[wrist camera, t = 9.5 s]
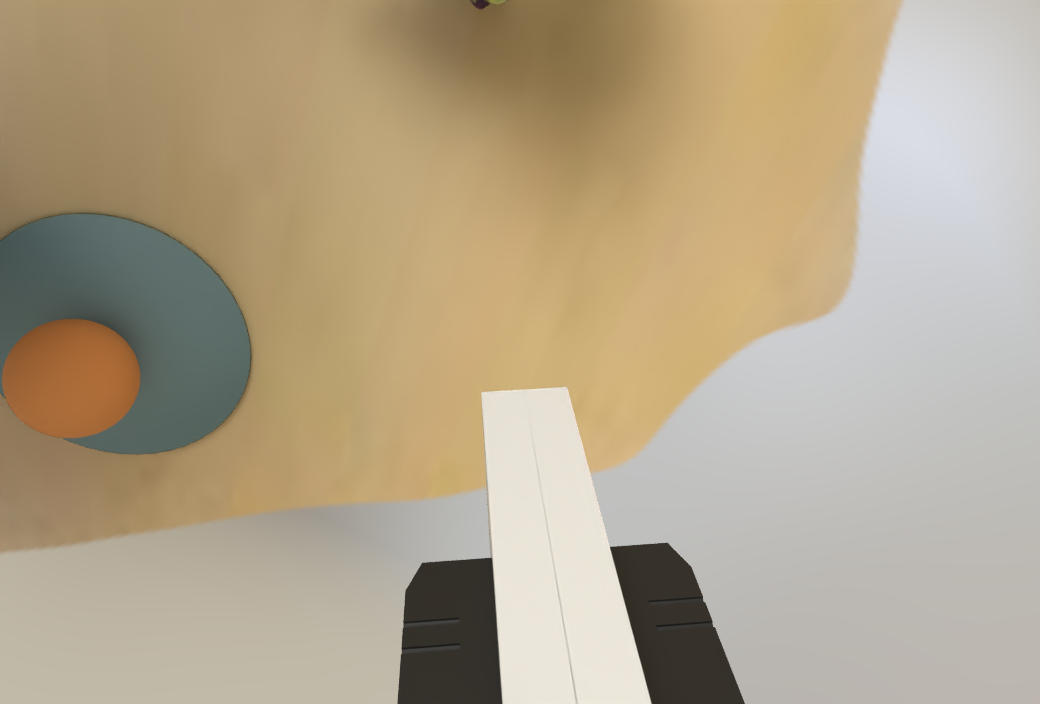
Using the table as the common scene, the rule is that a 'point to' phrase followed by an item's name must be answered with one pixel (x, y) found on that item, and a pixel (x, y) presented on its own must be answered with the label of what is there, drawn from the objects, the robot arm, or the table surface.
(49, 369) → the ball
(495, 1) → the passion flower
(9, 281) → the mark
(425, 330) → the table surface
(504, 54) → the table surface
